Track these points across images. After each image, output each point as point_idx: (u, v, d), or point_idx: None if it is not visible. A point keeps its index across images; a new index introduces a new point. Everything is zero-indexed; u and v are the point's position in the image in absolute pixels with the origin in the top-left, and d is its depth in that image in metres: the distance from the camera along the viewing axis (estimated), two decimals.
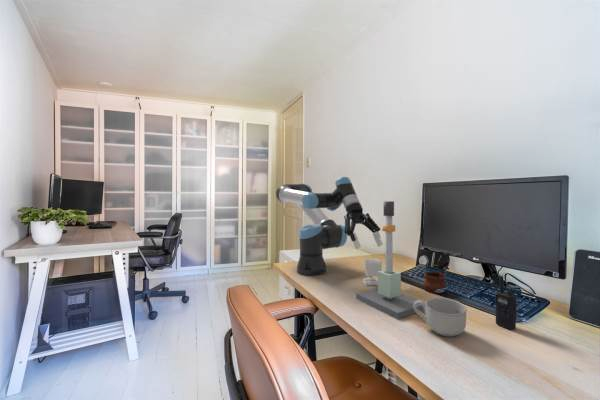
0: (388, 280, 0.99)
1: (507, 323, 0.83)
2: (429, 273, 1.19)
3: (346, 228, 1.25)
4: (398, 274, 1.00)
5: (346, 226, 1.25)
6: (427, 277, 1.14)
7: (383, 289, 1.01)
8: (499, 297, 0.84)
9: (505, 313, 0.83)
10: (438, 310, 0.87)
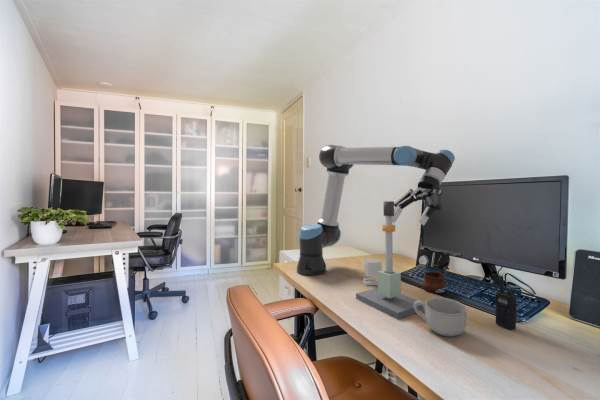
0: (388, 280, 0.99)
1: (507, 323, 0.83)
2: (429, 273, 1.19)
3: (439, 204, 1.02)
4: (398, 274, 1.00)
5: (439, 202, 1.02)
6: (426, 277, 1.14)
7: (383, 289, 1.01)
8: (499, 297, 0.84)
9: (505, 313, 0.83)
10: (438, 310, 0.87)
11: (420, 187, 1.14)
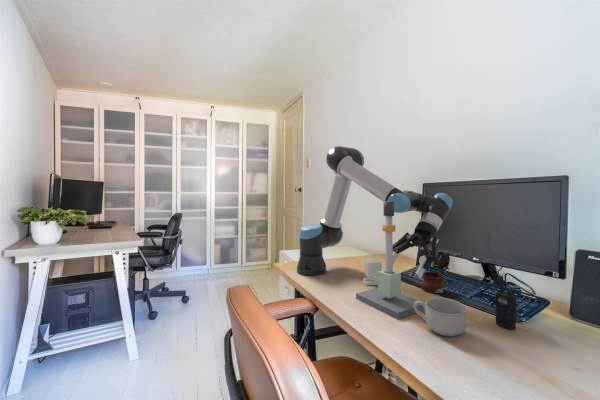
0: (388, 280, 0.99)
1: (507, 323, 0.83)
2: (428, 273, 1.19)
3: (437, 256, 0.99)
4: (398, 274, 1.00)
5: (437, 253, 0.99)
6: (425, 277, 1.14)
7: (383, 289, 1.01)
8: (499, 297, 0.84)
9: (505, 313, 0.83)
10: (438, 310, 0.87)
11: (417, 232, 1.11)
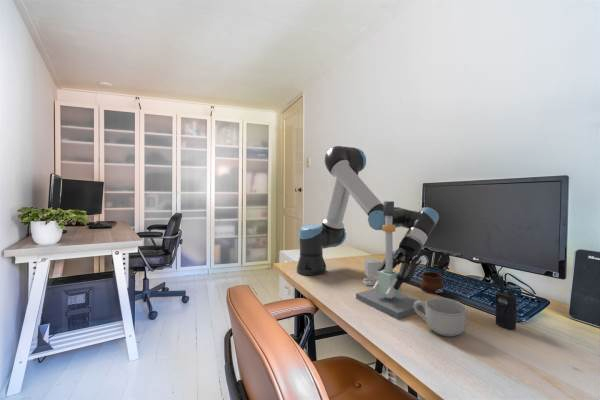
0: (388, 280, 0.99)
1: (507, 323, 0.83)
2: (427, 273, 1.19)
3: (409, 277, 0.98)
4: (398, 274, 1.00)
5: (410, 274, 0.98)
6: (424, 277, 1.14)
7: (383, 289, 1.01)
8: (499, 297, 0.84)
9: (505, 313, 0.83)
10: (438, 310, 0.87)
11: (400, 247, 1.08)
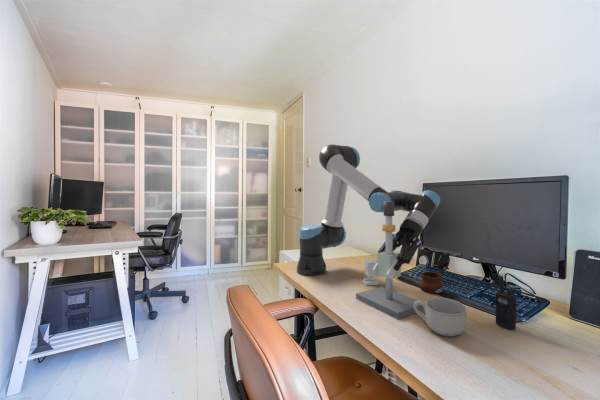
0: (388, 261, 0.98)
1: (507, 323, 0.83)
2: (426, 273, 1.19)
3: (409, 258, 0.97)
4: (398, 255, 1.00)
5: (411, 255, 0.98)
6: (424, 277, 1.14)
7: (383, 270, 1.01)
8: (499, 297, 0.84)
9: (505, 313, 0.83)
10: (438, 310, 0.87)
11: (401, 230, 1.08)
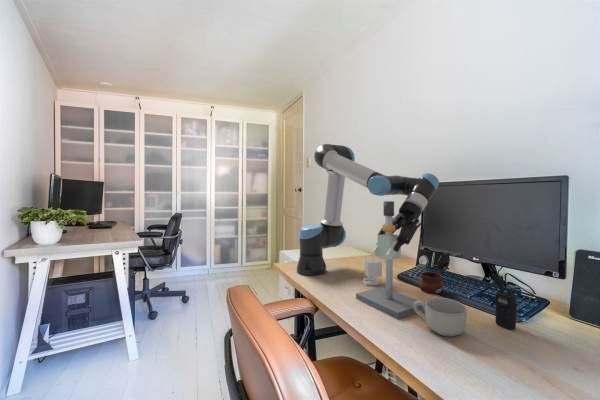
0: (388, 242, 0.98)
1: (507, 323, 0.83)
2: (425, 273, 1.18)
3: (409, 238, 0.97)
4: (398, 236, 1.00)
5: (410, 236, 0.98)
6: (424, 277, 1.14)
7: (383, 252, 1.00)
8: (499, 297, 0.84)
9: (505, 313, 0.83)
10: (438, 310, 0.87)
11: (400, 212, 1.08)
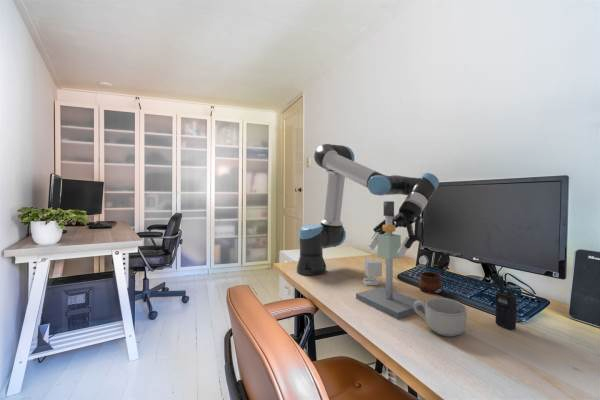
0: (388, 242, 0.98)
1: (507, 323, 0.83)
2: (424, 273, 1.18)
3: (419, 235, 0.95)
4: (398, 236, 1.00)
5: (419, 232, 0.96)
6: (423, 277, 1.14)
7: (383, 251, 1.00)
8: (499, 297, 0.84)
9: (505, 313, 0.83)
10: (438, 310, 0.87)
11: (401, 213, 1.07)
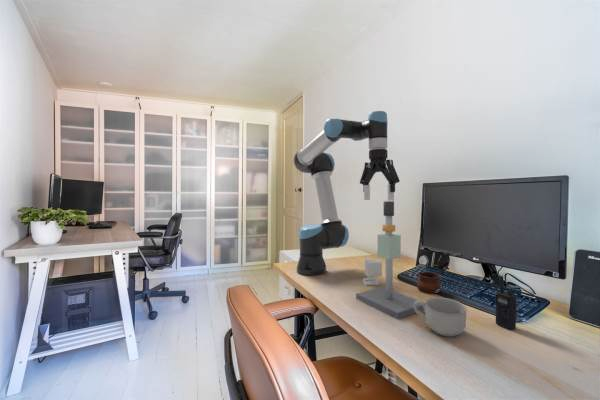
0: (388, 242, 0.98)
1: (507, 323, 0.83)
2: (423, 273, 1.19)
3: (396, 177, 1.11)
4: (398, 236, 1.00)
5: (395, 174, 1.11)
6: (421, 277, 1.14)
7: (383, 251, 1.00)
8: (499, 297, 0.84)
9: (505, 313, 0.83)
10: (438, 310, 0.87)
11: (372, 160, 1.20)
